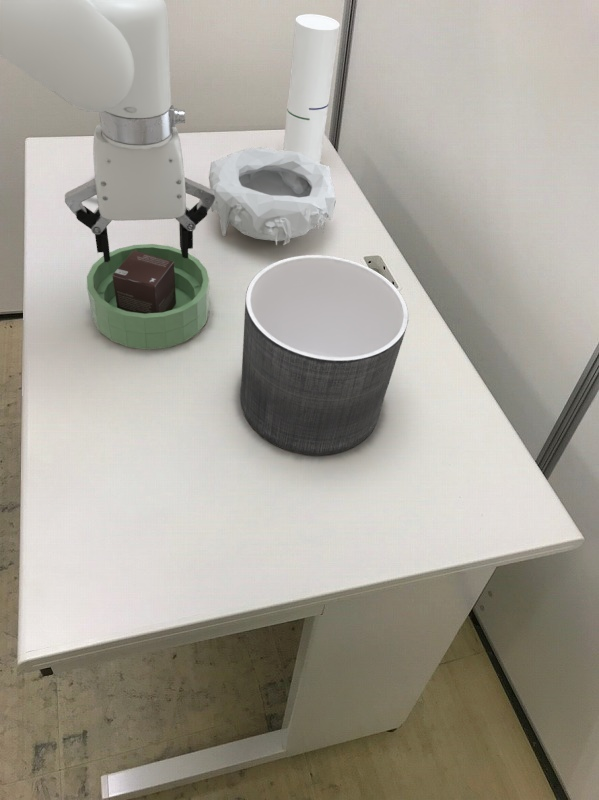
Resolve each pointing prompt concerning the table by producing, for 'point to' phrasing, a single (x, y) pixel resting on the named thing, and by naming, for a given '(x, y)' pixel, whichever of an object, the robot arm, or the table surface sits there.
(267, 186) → the bowl
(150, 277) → the box
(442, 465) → the table surface
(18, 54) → the robot arm
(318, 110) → the cylindrical container
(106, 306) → the green bowl
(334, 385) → the planter
